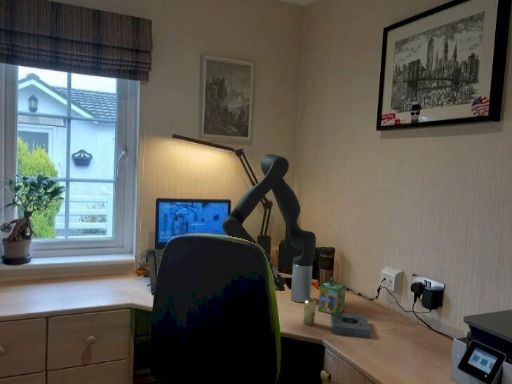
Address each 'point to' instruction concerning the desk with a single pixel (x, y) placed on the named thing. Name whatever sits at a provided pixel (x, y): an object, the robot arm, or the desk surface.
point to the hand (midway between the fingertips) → (283, 286)
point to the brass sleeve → (309, 312)
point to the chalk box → (332, 297)
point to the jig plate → (350, 325)
